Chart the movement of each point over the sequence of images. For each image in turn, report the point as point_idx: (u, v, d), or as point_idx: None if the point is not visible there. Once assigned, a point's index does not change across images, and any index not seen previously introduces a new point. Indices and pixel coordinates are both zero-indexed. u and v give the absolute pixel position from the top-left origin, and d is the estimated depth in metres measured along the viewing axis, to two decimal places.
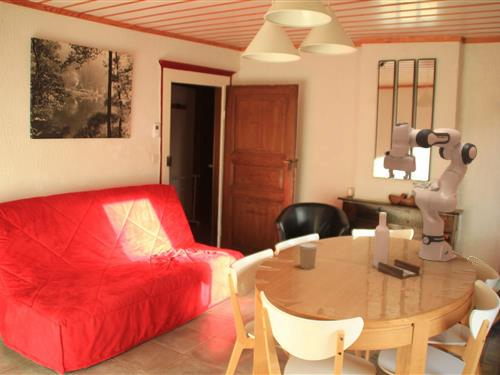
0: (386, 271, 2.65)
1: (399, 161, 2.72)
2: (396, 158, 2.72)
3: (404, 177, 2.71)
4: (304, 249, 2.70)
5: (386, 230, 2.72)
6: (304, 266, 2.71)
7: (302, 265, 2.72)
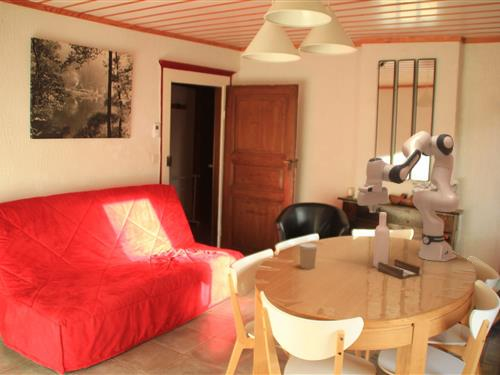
0: (386, 271, 2.65)
1: (377, 195, 2.79)
2: (378, 193, 2.77)
3: (374, 210, 2.80)
4: (304, 249, 2.70)
5: (386, 230, 2.72)
6: (304, 266, 2.71)
7: (302, 265, 2.72)
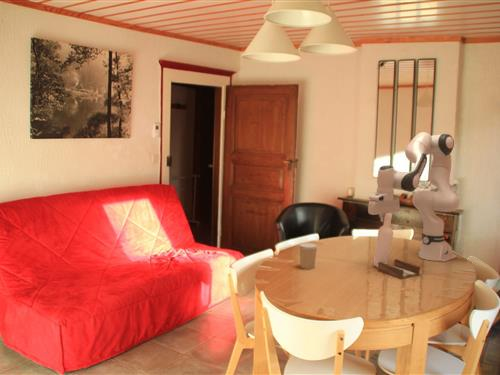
0: (386, 271, 2.65)
1: (388, 204, 2.72)
2: (389, 202, 2.70)
3: None
4: (304, 249, 2.70)
5: (390, 231, 2.70)
6: (304, 266, 2.71)
7: (302, 265, 2.72)
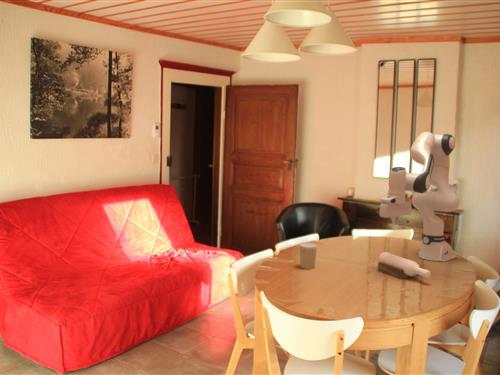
0: (386, 271, 2.65)
1: (400, 206, 2.65)
2: (401, 204, 2.63)
3: (397, 222, 2.66)
4: (304, 249, 2.70)
5: None
6: (304, 266, 2.71)
7: (302, 265, 2.72)
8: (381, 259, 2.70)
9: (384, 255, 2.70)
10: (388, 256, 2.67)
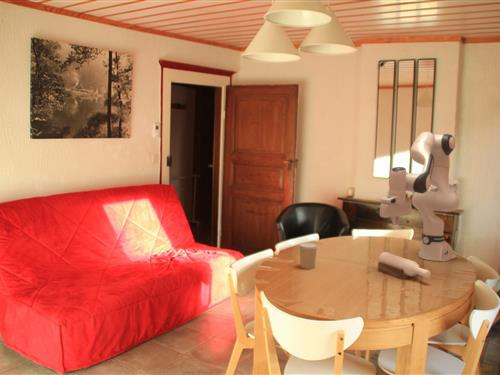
0: (386, 271, 2.65)
1: (400, 206, 2.65)
2: (401, 204, 2.63)
3: (397, 222, 2.66)
4: (304, 249, 2.70)
5: None
6: (304, 266, 2.71)
7: (302, 265, 2.72)
8: (381, 259, 2.70)
9: (384, 255, 2.70)
10: (388, 256, 2.67)
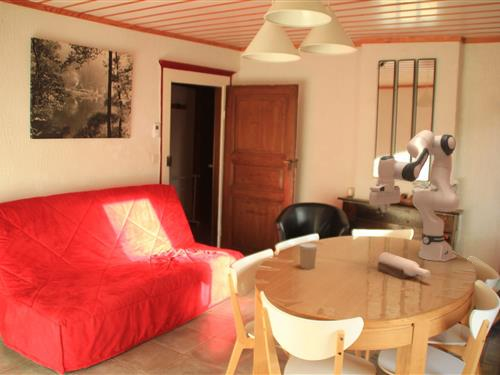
0: (386, 271, 2.65)
1: (389, 194, 2.71)
2: (390, 192, 2.69)
3: (386, 209, 2.72)
4: (304, 249, 2.70)
5: None
6: (304, 266, 2.71)
7: (302, 265, 2.72)
8: (381, 259, 2.70)
9: (384, 255, 2.70)
10: (388, 256, 2.67)
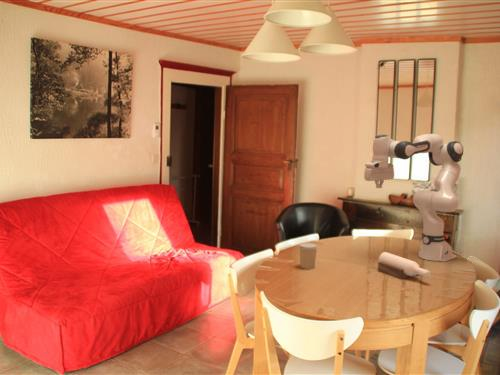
0: (386, 271, 2.65)
1: (383, 171, 2.87)
2: (384, 169, 2.85)
3: (381, 185, 2.88)
4: (304, 249, 2.70)
5: None
6: (304, 266, 2.71)
7: (302, 265, 2.72)
8: (381, 259, 2.70)
9: (384, 255, 2.70)
10: (388, 256, 2.67)
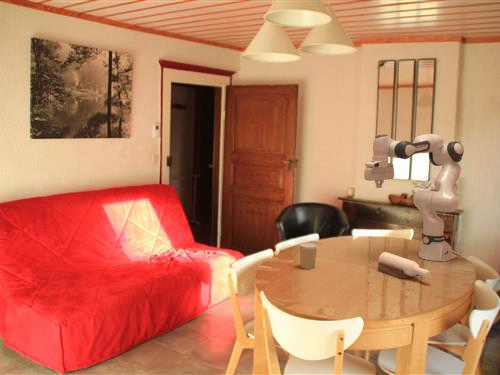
0: (386, 271, 2.65)
1: (383, 171, 2.87)
2: (384, 168, 2.85)
3: (381, 185, 2.89)
4: (304, 249, 2.70)
5: None
6: (304, 266, 2.71)
7: (302, 265, 2.72)
8: (381, 259, 2.70)
9: (384, 255, 2.70)
10: (388, 256, 2.67)
